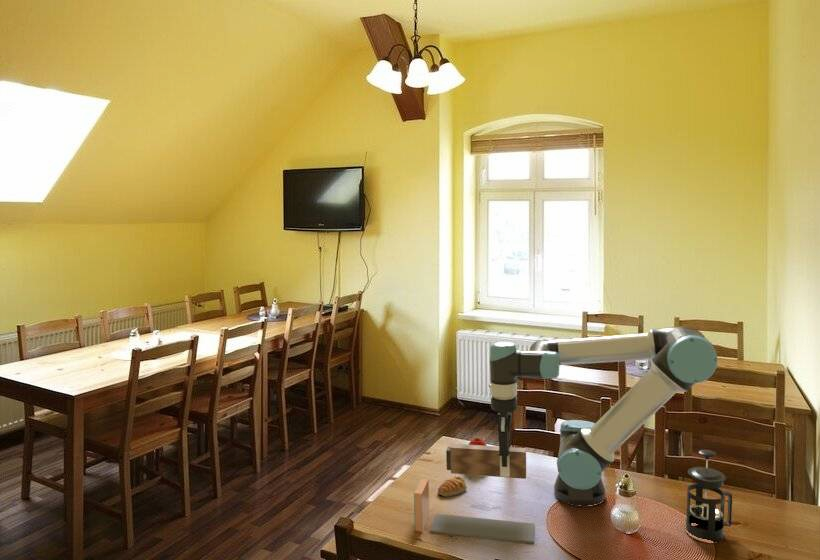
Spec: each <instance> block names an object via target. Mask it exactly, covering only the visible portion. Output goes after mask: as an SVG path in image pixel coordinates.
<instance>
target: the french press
mask: <svg viewBox="0 0 820 560" xmlns="http://www.w3.org/2000/svg"><path fill="white" fill-rule="evenodd" d="M698 454H699V455H701V456H703V457H704V459H705V460H706V461H705V462H706V463H705V466H693V467H690V468H689V469H688V470H687V474H688V475H689V477H691V478H692V479H693V480H694V482H695V483H692V484H690V485H688V486H687V489H686V494H687V495H686V519H685V527H686V529H687V531H688V532H689V533H691V534H692V535H694V536H696V537H698V538H702V539H707V540H711V541H713V542H720V541H722V540H723V539H724V540H725V534H724V529H725V527H731V526H732V516H733V515H732V511H733V510H732V509H733V494H732V493H731V492H730V491H725V490H724V491H723V490H722V489H721V488H722V487H724V483H725V481H726V475H725V474H724V473H723V472H722V471H719V470H717V469H715V468H711V467H709V466H708V462H709V460H710V457H711V458H713V457H717V453H716V452H715V451H713V450H709V449H699V450H698ZM691 490H695V494H694V493H691ZM707 491H711V492H714V493H716V494H718V495H720V498H715V499H711V498H709V499H708V498H707V495H708V492H707ZM703 495H704V497H703ZM726 496H727V516H726V517H727V518H726V519H727V521H725V520H724V517H725V515H724V514H725V501H726ZM691 499H692V500H694V501H695V503H693V504H691ZM717 505H720V509H719V508H717ZM691 523H696V524H698V525H700V526H699V527H704V528H707V530H706V529H701V528H699V527H697V526H695V527H694V526H692V525H691ZM724 540H723V541H724ZM723 541H722V542H723ZM720 543H721V542H720Z"/></svg>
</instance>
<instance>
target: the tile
mask: <svg viewBox="0 0 820 560" xmlns="http://www.w3.org/2000/svg"><path fill="white" fill-rule="evenodd" d="M429 483H430V482H429V478H421V479H420V480H419V482H418V483H417V486H416V488H415V490H414V492H413V503H414V504H413V508H414V510H413V513H414V530H415V532H420V533H421V532H423V531H424V529H425V527H426V524H427V522H428V519H429V517H430V493H429V491H430V490H429V489H430V487H429V486H430V485H429Z"/></svg>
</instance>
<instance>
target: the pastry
mask: <svg viewBox="0 0 820 560" xmlns="http://www.w3.org/2000/svg"><path fill="white" fill-rule="evenodd" d="M467 489H468V486H467V484H466V482H465V480H464V478H463V477H461V476H454V477H451V478H448V479H446V480H445V481H443V482H442V483H441V484H440V485H439V487H438V488H437V493H438V495H439V496H440V495H441V496H443V497H452V496H456V495H459V494H461V493H464V492H465V491H466V490H467Z"/></svg>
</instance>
